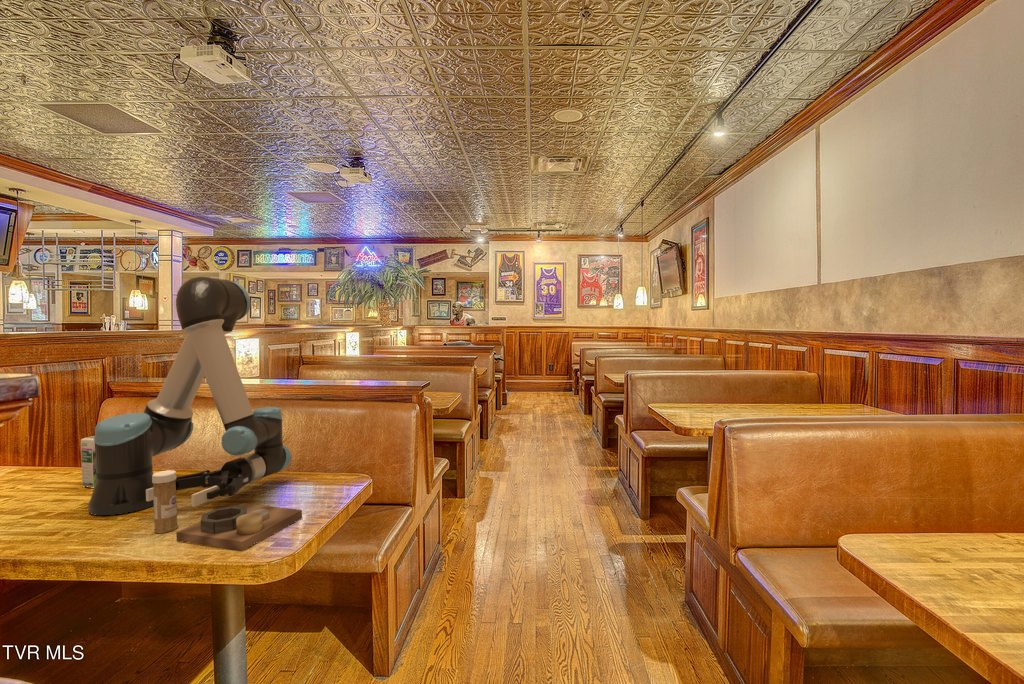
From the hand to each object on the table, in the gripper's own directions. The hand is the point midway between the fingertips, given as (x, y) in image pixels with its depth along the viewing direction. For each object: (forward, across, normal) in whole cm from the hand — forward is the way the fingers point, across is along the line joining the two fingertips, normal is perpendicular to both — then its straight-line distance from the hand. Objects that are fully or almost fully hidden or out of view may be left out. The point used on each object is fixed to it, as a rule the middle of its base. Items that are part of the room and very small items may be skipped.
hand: (169, 498), depth 114 cm
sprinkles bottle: (0, +1, -8) cm, 8 cm away
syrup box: (-19, +51, -8) cm, 55 cm away
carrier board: (-4, -16, -7) cm, 18 cm away
